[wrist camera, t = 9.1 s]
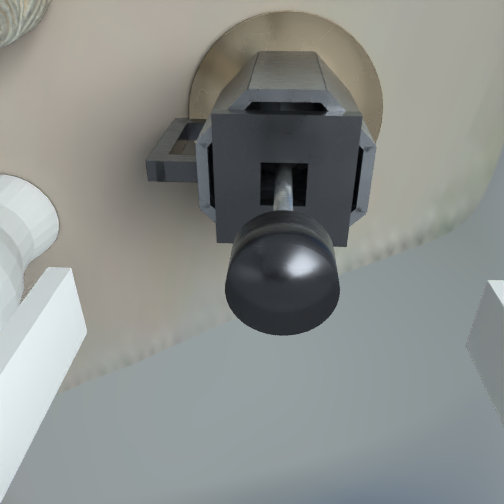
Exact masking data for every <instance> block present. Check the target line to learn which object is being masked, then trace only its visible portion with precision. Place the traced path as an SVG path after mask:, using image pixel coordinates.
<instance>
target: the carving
mask: <svg viewBox="0 0 504 504" xmlns="http://www.w3.org/2000/svg"><path fill="white" fill-rule="evenodd" d="M50 2H51V0H0V48H1V47H4V46H7V45H9V44H11V43H13V42H14V41H16V40H17V39H19V38H20V37H21V36H23V35H24V34H26V33H27V32H29V31H31V30H32V29H34V28H35V27H36V26H37V25H38V24H39V22H40V19H41V18H42V16H43V15H44V14H45V12H46V11H47V9H48V7H49V5H50Z"/></svg>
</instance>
